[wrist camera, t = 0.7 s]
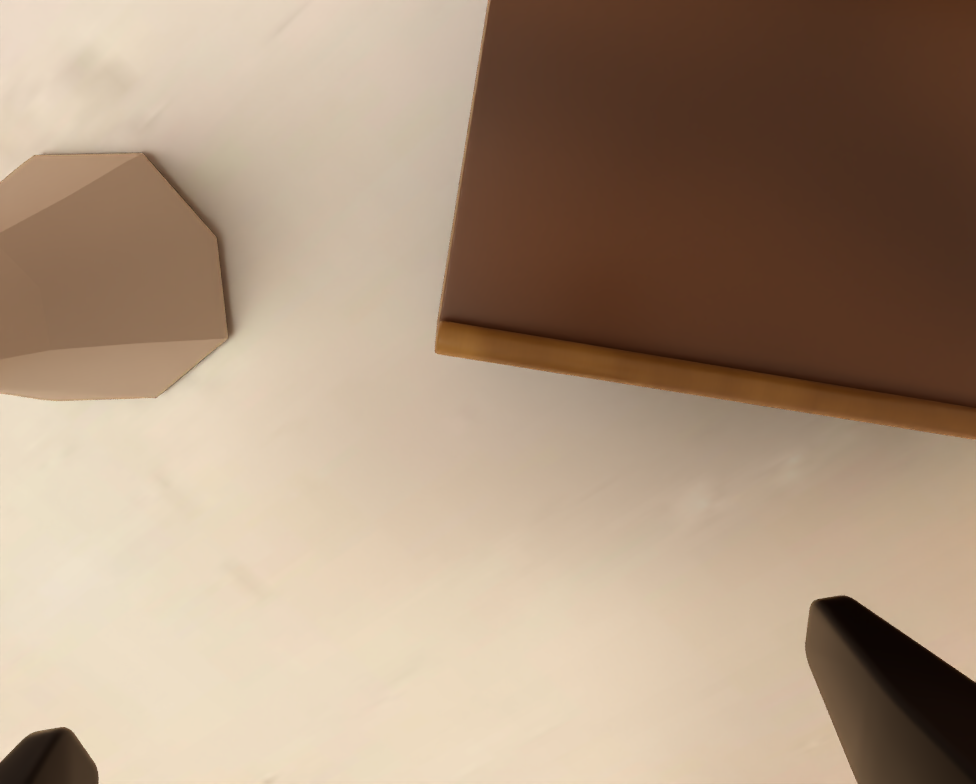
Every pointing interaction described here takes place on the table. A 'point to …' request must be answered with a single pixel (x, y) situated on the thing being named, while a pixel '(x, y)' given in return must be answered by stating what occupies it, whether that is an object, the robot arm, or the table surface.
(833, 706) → the robot arm
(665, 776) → the table surface
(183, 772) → the table surface
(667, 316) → the spice rack
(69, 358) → the flask
